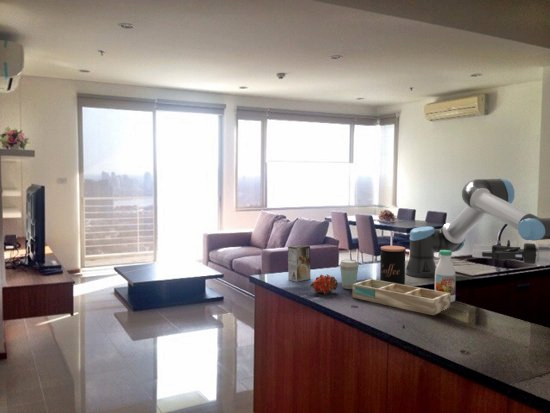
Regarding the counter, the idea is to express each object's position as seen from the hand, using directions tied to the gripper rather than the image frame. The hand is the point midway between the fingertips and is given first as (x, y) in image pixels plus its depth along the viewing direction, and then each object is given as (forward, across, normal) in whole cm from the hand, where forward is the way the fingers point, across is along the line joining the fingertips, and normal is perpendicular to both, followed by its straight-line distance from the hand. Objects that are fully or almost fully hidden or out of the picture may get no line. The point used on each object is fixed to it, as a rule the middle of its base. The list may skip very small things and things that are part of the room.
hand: (473, 250), depth 183 cm
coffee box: (+77, +12, -20) cm, 81 cm away
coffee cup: (+51, +6, -20) cm, 55 cm away
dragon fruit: (+58, -8, -21) cm, 62 cm away
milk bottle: (+10, +1, -21) cm, 23 cm away
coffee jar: (+33, +13, -20) cm, 41 cm away
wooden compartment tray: (+26, -10, -21) cm, 35 cm away
